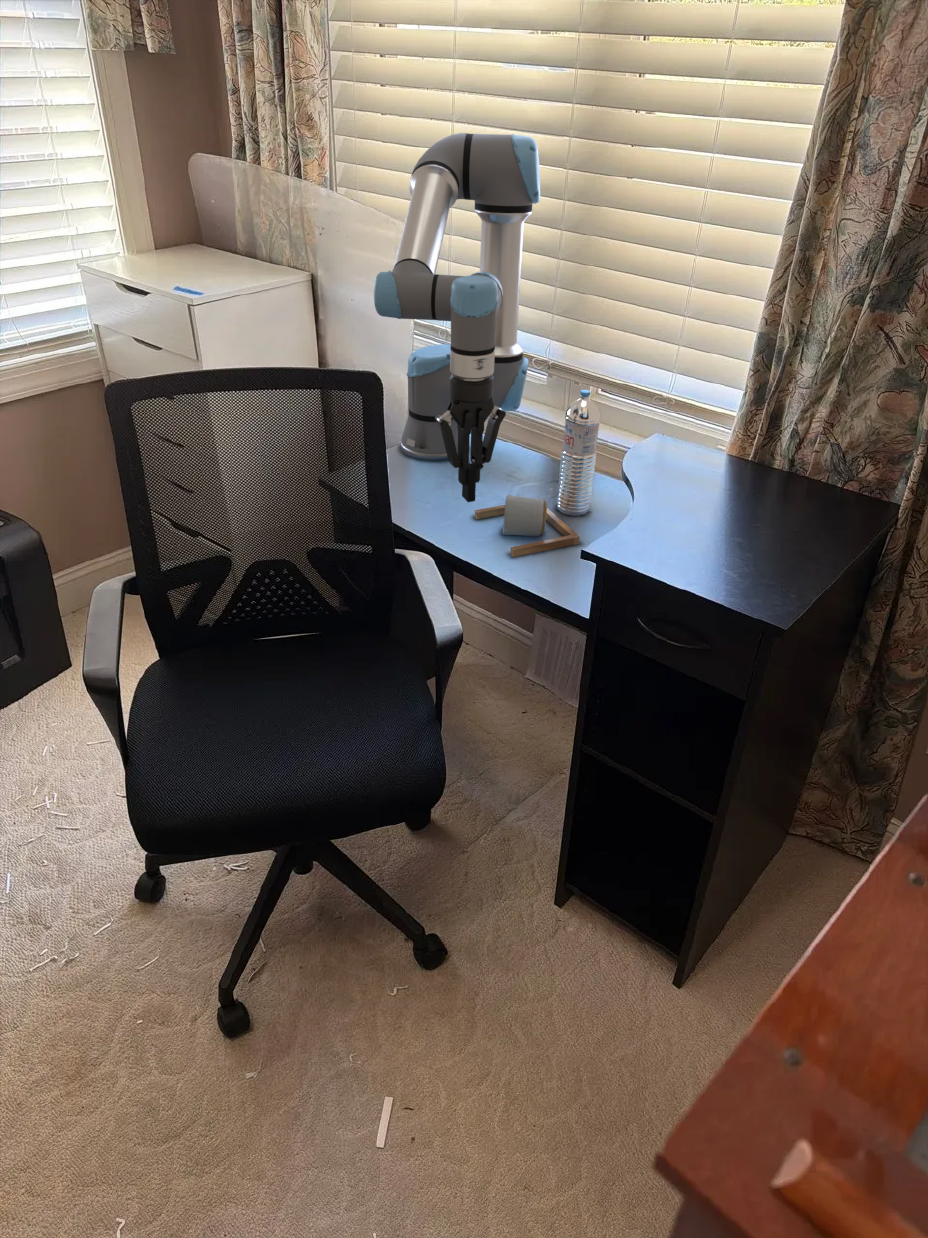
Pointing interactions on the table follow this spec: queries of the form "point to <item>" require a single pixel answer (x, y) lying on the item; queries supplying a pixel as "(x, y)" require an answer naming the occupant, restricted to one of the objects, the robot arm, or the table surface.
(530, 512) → the ceramic mug
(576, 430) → the water bottle
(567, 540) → the oak frame
